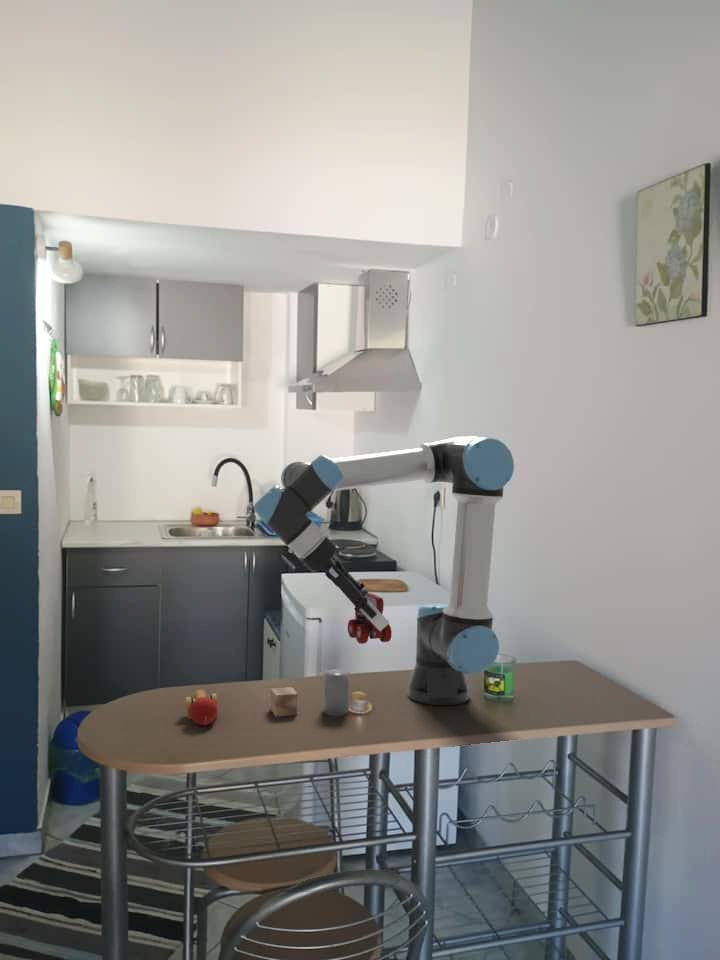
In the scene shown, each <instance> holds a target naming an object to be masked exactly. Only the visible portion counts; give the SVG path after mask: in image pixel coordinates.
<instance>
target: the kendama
mask: <svg viewBox="0 0 720 960" xmlns="http://www.w3.org/2000/svg"><path fill="white" fill-rule="evenodd" d="M185 705H186V713H187V719H188V720H192V722H194V723H195V724H196V725H199V726H207V725H210V724H212V723H213V722H214V721H215V720H216V718H217V715H218V714H219V705H218V697H217V693H212V694H210V695H209V696H207V693H206V692H205V690H203V689H198V690H196V691H195V692H194V694H193V697H192V696H187V697H185Z"/></svg>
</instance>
